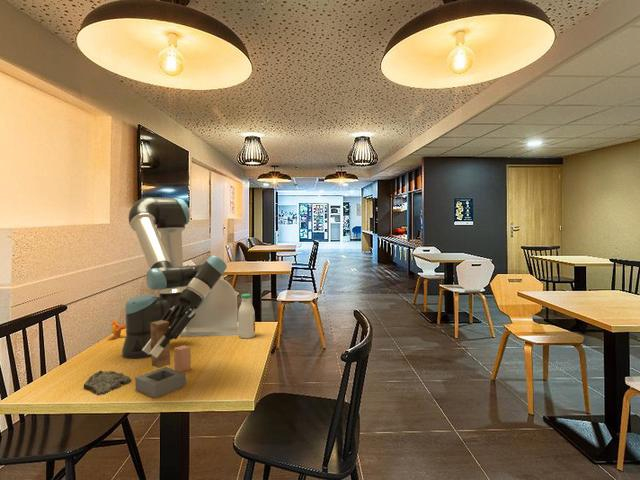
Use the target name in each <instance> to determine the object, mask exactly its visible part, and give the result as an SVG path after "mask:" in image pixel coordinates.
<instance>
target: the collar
mask: <svg viewBox="0 0 640 480" xmlns="http://www.w3.org/2000/svg"><path fill="white" fill-rule="evenodd" d="M186 378H187V377H186V373H184V372H180V371H177V370H175V369H173V368H170V367H168V366H164V367H161V368H158V369H156V370H152V371H150V372H147V373H144V374H141V375H139V376H136V377H134V381H135V383H134V384H135V385H134V386H135V390H136V391H138V392H140V393H142V394H144V395H146V396H149V397H152V398H154V399H158V398H159V397H162V396H163V395H166V394H167V395H168V393H171V392H174V391H176V390H178V389H181V388H183V387H186V386H187V380H186Z"/></svg>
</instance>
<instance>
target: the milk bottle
mask: <svg viewBox="0 0 640 480" xmlns="http://www.w3.org/2000/svg"><path fill="white" fill-rule="evenodd" d="M240 298H241V303H240V306H239V308H238V311H237V318H238V331H239V335H238V337H239V338H240V339H252V338H254V337H255V336H256V315H255V309H254V306H253V303H252V293H242V294H241V296H240Z"/></svg>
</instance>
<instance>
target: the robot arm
mask: <svg viewBox="0 0 640 480" xmlns="http://www.w3.org/2000/svg"><path fill="white" fill-rule="evenodd" d="M190 215H191V214H190V209H189V206H188V204H187V203H186V201H185V200H184V199H182V198H178V197H177V198H175V197H151V196H150V197H149V196H148V197H143V198H140V199H139V200H137V201H136V202H135V203H134V204H132V206H131V208H130V210H129V211H128V223H129V225H130V229H131V230H132V231H134V232H135V234H136V237H137V238H138V241H139V244H140V247H141V249H142V252H143V254H144V257H145V260H146V262H147V264H148V267H149V268H148V270H147V271H146V275H145V277H146V284H147V287H148V289H150V290H151V291H152V290H154V291H155V290H157V291H158V290H160V291H159V296H157V295H156V294H154V293H149V294H142V295H138V296H134V297H131V298H129V299H128V300H127V301H126V303H125V309H124V313H125V325H126V329H125V332H126V335H125V340H124V343H123V345H122V349H121V355H122V357H124V358H127V359H141V358H148V357H152V355H153V356H154V357H156V358H157V357H158V356H159V354H160V353H161V352H162V350H163V349H164V348H165V347H166V345H167V344H168V343H169V341H172V340H173V339H175V340H176V339H178V338H179V337H180V334H181V332H182V331H183V330H184V328H186V326H187V324H188V323H189V321H190V320H191V319H192V318H193V317H194V316H195V315H196V314H195V313H194V312H193V309H197V308H198V307H199V306H200V304H201V303H202V299H205V297H206V296H207V295H208V293H209V292H210V290H211V289H212V288H213V286H214V285H215V284H216V282H217V281H218V280H219V278H221V277H222V276H223V275H224V273H225V271H226V269H227V263H226V262H225V261H224V260H223V259H222V258H220V257H219V256H217V255H209V257H208V258H207V259H206V261H205V262H204V263H201V264H196V265H184V257H183V256H184V255H183V237H182V236H183V233H182V232H183V231H184V230H185V229H186V225H188V224H189V222H190V219H191V216H190ZM160 320H164V321H168V322H169V330H168V331H167V333H164V335H165V336H164V335H163V336H162V337H161V339H160V340H159V341H158V343H157V344H156V345H155V347H154V348H153V349H152V351H151V323H152V322H156V321H160Z"/></svg>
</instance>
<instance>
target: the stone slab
mask: <svg viewBox="0 0 640 480" xmlns="http://www.w3.org/2000/svg"><path fill="white" fill-rule="evenodd" d="M131 382H132V378H130V377H129V375H128V376H127V375H124V373H122V372H116V371H114V370H109V371H105V370H104V371H102V370H99V371H97V372H95V373H93V374H92V375H91V376H89V378H87V380H86V381H85V382H84V384H83V388H84V389H87V390H90V391H92V393H93V394H96V393H97V394H96V396H102V395H101V394H103V395H107V394H109V393H110V392H111V390H112V391H115V390H117V389H118V388H121V387H122V385H123V386H126V385H128V384H130V383H131ZM114 389H115V390H114ZM108 392H109V393H108ZM106 393H107V394H106Z"/></svg>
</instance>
